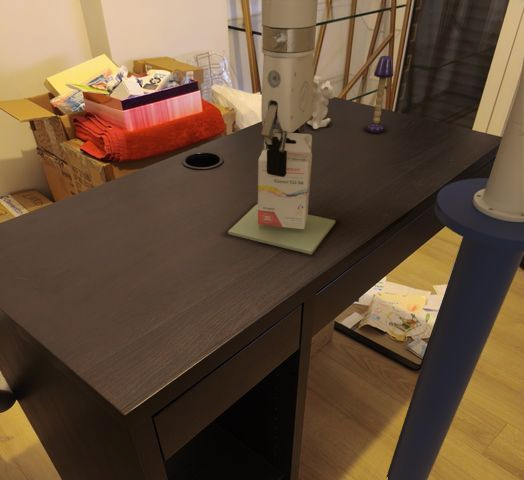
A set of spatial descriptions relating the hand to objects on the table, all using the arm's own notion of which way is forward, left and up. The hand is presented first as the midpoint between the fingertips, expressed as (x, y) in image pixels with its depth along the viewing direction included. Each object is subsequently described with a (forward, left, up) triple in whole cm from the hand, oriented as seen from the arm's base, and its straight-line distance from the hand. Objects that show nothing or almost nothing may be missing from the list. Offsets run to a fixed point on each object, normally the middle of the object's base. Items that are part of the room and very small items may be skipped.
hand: (284, 166), depth 79 cm
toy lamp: (-1, -58, -12) cm, 59 cm away
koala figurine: (+14, -55, -12) cm, 58 cm away
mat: (0, 0, -11) cm, 11 cm away
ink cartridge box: (0, 0, -10) cm, 10 cm away
